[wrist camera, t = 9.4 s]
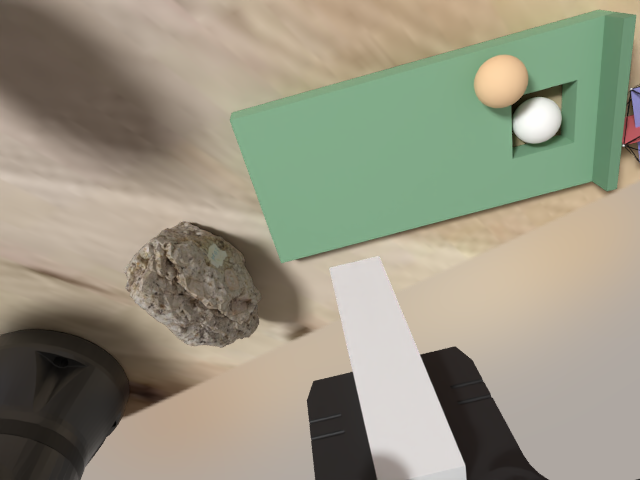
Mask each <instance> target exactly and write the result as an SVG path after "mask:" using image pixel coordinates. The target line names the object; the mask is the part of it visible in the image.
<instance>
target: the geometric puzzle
mask: <svg viewBox="0 0 640 480" xmlns="http://www.w3.org/2000/svg"><path fill="white" fill-rule="evenodd" d="M639 85H640V84H639ZM637 86H638V85H637ZM629 92H630V97H629V102H628V103H629V105H628V113H629V106H630V101H631V100H632V103H633V111H634V115H631V116H628V113H627V117H625V120H624V129H623V138H622V144H623V145H622V146H623V147H625V148H626V147H629V146H628V144H632V143H635V142H637V143H638V149H636V150H638V151H639V159H640V86H639V87H636V88H635V87H634V88H630V91H629ZM627 95H628V94H627ZM631 95H632V99H631V100H630V98H631ZM628 103H627V104H628ZM627 104H626V105H627ZM625 145H627V146H625ZM629 148H632V147H629ZM626 149H627V148H626ZM632 149H635V148H632ZM627 150H628V149H627ZM630 150H631V149H630ZM628 151H629V150H628ZM631 151H632V150H631ZM629 152H630V151H629ZM630 153H631V152H630ZM632 153H633V151H632ZM632 153H631V154H632ZM633 154H634V153H633ZM634 155H635V154H634ZM635 157H636V156H635ZM636 158H637V157H636ZM637 160H638V158H637ZM638 161H639V160H638ZM639 163H640V161H639Z"/></svg>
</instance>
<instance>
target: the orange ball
mask: <svg viewBox="0 0 640 480" xmlns="http://www.w3.org/2000/svg"><path fill="white" fill-rule="evenodd" d="M527 85H528V72H527V69H526V67H525V65H524V64H523V63H522V61H520V60H519V59H518V58H516V57H514V56H511V55H498V56H495V57H492V58H490V59H488V60H487V61H486V62H484V63H483V64H482V65H481V67H480V68H479V69H478V71H477V73H476V76H475V79H474V90H475V93H476V96H477V97H478V99H479V100H480V101H481V102H482V103H483V104H485V105H486V106H489V107H492V108H504V107H508V106H510V105H512V104H514V103H515V102H517V101H518V100H519V99H520V98H521V97H522V95H523V94H524V92H525V90H526V88H527Z"/></svg>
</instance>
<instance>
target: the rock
mask: <svg viewBox="0 0 640 480" xmlns="http://www.w3.org/2000/svg"><path fill="white" fill-rule="evenodd" d="M244 264H245V259H244V257H243V255H242V253H241V252H239V251H238V250H237V249H236V248H235V247H233V246H232V245H231V244H230V243H228V242H226V241H225V240H224V239H223V238H222V237H220V236H215V235H212V233H211V232H207V231H205V230H201V229H199V227H197V226H193V225H192V224H190V223H189V222H181V223H179V224H178V225H177V226H175V227H173V228H171V229H168V228H167V229H165V230H163V231H162V232H161V233H160V234H159V235H158V236H157V237H155V238H153V239H152V240H150V241H149V242H148V243H147V244H146V245H145V246H143V247H142V248H141V249H140V250H139V252H138V253H136V254H135V255H134V257H133V258H132V260H131V261H130V263H129V264H128V265H127V267H126V268H125V270H124V272H125V274H126V276H127V280H128V282H127V285H126V289H127V291H128V292H130V296H131V297H132V298H133V299H134V301H135V303H137V304H138V305H139V306H140V307H141V308H143V309H144V310H146V311H147V313H148V314H149V315H151V316H152V317H154V318H155V319H156V320H157V321H159V322H160V323H162V324H164V325H165V326H166V327H168V328H169V330H170V331H171V332H172V333H173V334H175V335H176V336H177V337H178V338H179V339H180V340H181V341H183V342H184V343H186V344H187V345H190V346H198V345H210V346H218V347H220V348H222V347H224V346H226V345H228V344H231V343H233V342H234V341H235V340H236V339H239V338H240V339H243V338H244V337H250V335H251V334H253V333H254V331H255V330H256V329H257V327H258V325H259V318H258V314H257V307H258V302H259V301H260V300H261V294H260V292H259V291H258V289H257V288H256V287H255V286H254V284H253V281H252V278H251V277H250V275H249V273H248V271H247V270H246V268H245V266H244Z"/></svg>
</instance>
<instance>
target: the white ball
mask: <svg viewBox="0 0 640 480" xmlns="http://www.w3.org/2000/svg"><path fill="white" fill-rule="evenodd" d="M561 121H562V114H561V111H560V108H559V107H558V105H557V104H556V103H555V102H554V101H552V100H550V99H548V98H545V97H534V98H531V99H528V100H526V101H524V102H523V103H522V104H520V105H519V107H518V108H517V109H516V110H515V112H514V114H513V118H512V128H513V131H514V133H515V134H516V136H517V137H518V138H519V139H521V140H522V141H524V142H527V143H532V144H536V143H542V142H545V141H547V140H549V139H550V138H551V137H553V136H554V135H555V134H556V132H557V131H558V129H559V128H560V125H561Z"/></svg>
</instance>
